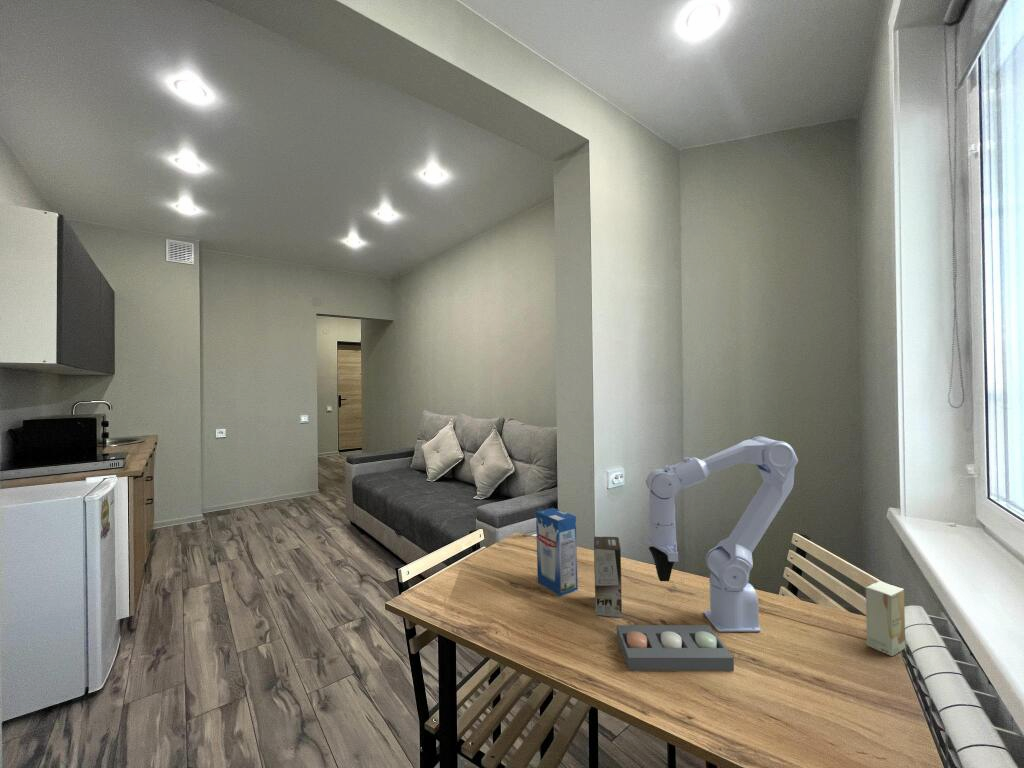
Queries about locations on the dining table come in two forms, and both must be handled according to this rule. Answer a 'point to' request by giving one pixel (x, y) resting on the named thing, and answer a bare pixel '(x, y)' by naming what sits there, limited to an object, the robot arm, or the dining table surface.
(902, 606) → the skincare box
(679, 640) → the white rounded piece
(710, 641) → the pale green egg
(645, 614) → the dining table surface
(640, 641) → the terracotta button
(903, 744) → the dining table surface
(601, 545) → the coffee box
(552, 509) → the milk carton
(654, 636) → the button panel
